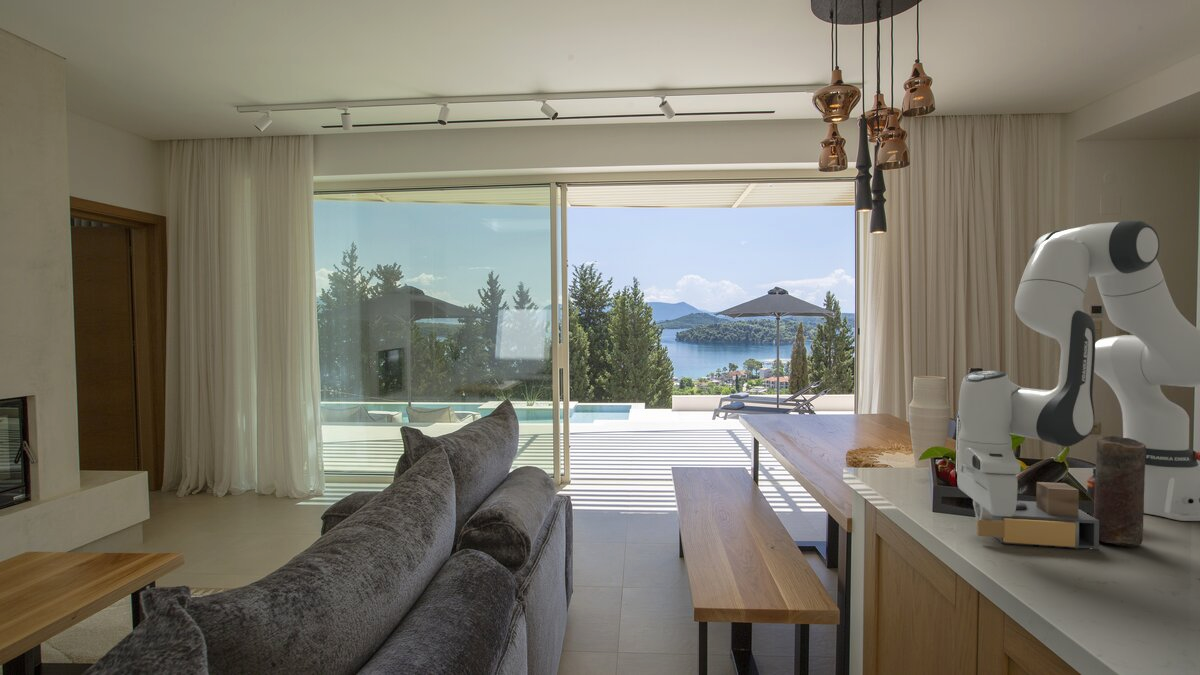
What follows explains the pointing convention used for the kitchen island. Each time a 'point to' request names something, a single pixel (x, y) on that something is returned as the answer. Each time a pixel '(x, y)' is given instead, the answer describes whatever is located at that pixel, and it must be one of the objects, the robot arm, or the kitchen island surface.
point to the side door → (1031, 531)
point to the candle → (1120, 490)
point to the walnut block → (1057, 498)
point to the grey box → (1086, 522)
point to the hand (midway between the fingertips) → (983, 525)
